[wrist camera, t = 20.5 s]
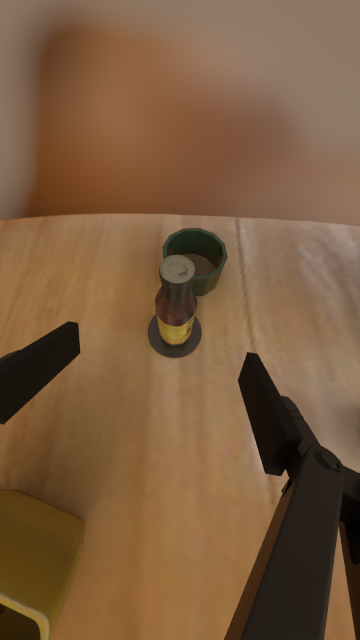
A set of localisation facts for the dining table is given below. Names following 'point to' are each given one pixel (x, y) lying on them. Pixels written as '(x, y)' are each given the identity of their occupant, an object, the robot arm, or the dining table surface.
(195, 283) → the crock
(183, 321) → the sauce bottle
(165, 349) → the coaster
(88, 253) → the dining table surface
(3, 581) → the flower pot
